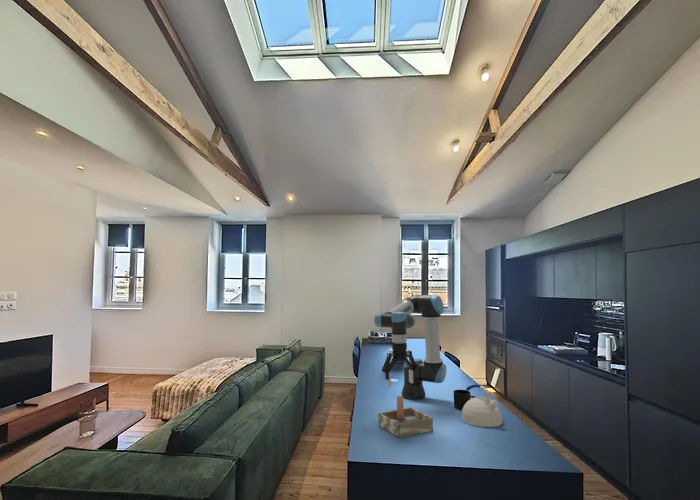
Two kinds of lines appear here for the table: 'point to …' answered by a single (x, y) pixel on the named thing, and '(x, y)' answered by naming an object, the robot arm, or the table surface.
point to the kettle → (481, 410)
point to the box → (406, 422)
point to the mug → (461, 398)
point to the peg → (400, 408)
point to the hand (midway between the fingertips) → (400, 384)
